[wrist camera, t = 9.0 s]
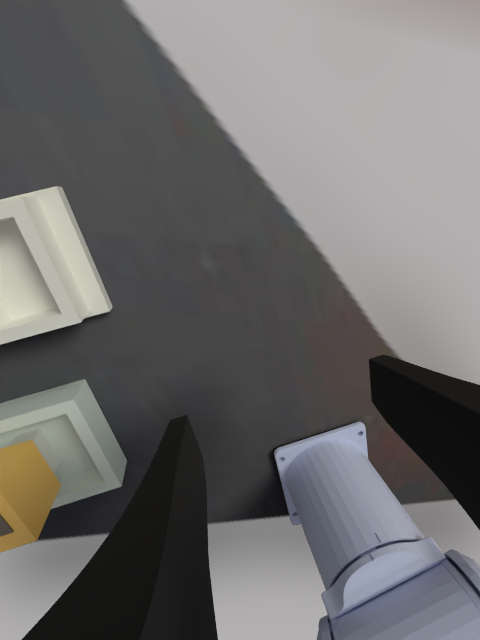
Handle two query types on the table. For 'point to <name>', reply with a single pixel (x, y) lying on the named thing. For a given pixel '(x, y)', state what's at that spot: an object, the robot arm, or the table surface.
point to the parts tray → (69, 438)
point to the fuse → (26, 488)
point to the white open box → (44, 267)
